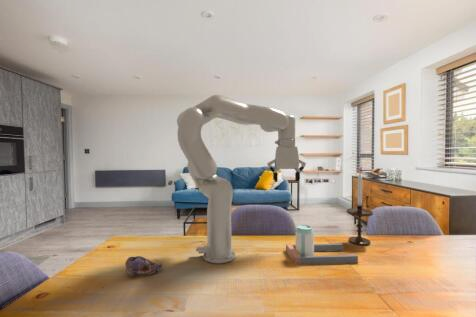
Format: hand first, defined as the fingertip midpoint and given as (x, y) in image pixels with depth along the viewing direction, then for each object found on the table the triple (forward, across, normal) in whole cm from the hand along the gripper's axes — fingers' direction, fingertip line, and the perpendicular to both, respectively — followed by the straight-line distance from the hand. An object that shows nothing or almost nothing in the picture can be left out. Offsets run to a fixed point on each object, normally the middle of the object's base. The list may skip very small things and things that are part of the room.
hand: (286, 181), depth 111 cm
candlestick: (+28, +34, 0) cm, 44 cm away
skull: (+29, -56, -24) cm, 67 cm away
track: (+28, +10, -14) cm, 33 cm away
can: (+28, +4, -14) cm, 32 cm away
